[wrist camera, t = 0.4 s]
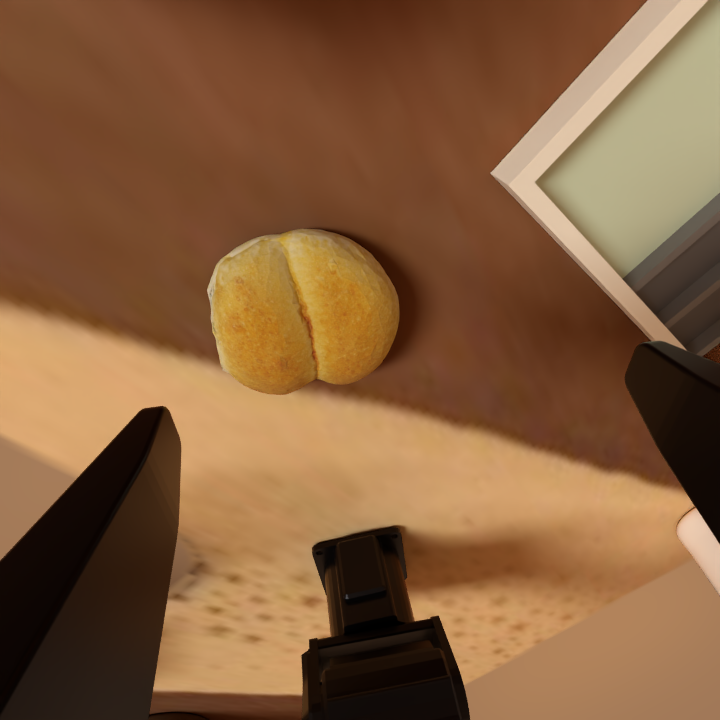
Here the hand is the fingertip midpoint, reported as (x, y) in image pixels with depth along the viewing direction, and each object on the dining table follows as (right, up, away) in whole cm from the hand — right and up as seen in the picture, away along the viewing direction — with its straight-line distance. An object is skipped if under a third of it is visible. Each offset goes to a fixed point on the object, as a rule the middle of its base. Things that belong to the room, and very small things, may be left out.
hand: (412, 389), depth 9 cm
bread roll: (-4, +3, +15) cm, 16 cm away
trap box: (+19, +6, +17) cm, 26 cm away
